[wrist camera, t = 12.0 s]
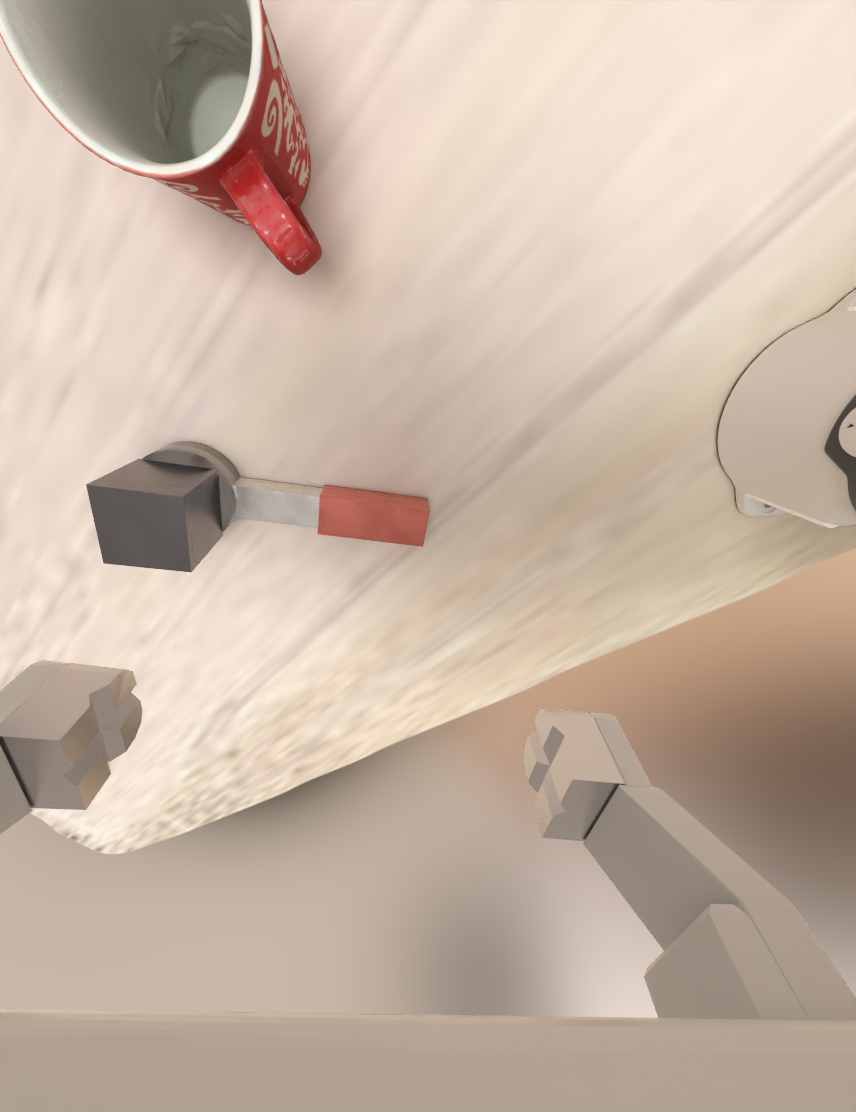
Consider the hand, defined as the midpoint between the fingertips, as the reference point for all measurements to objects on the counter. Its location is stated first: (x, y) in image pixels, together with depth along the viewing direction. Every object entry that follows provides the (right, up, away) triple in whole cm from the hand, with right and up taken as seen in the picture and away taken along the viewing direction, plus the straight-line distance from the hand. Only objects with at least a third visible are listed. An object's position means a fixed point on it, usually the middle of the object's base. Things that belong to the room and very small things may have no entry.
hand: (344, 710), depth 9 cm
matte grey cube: (-17, +8, +24) cm, 31 cm away
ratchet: (-10, +8, +28) cm, 31 cm away
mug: (-8, +27, +18) cm, 33 cm away
